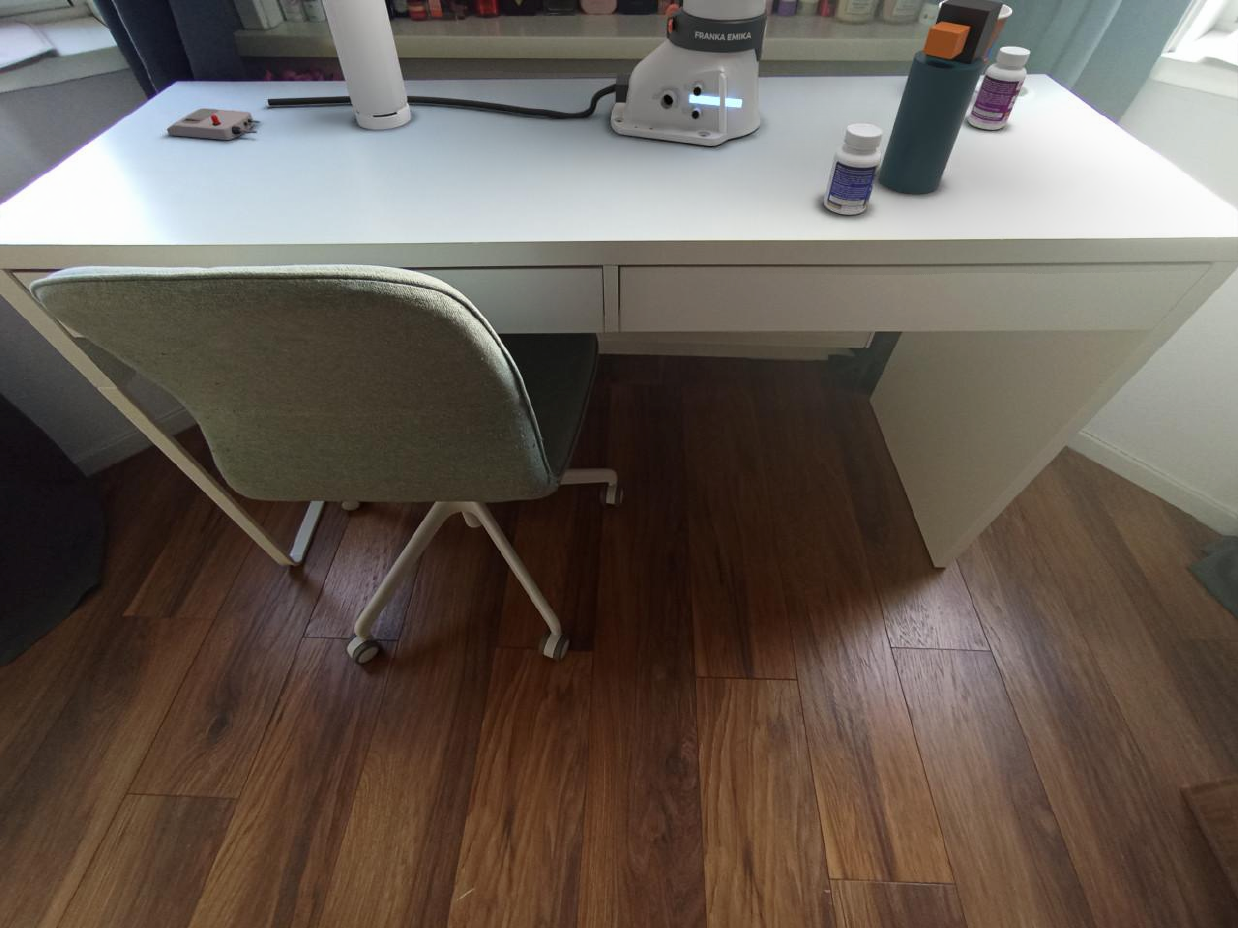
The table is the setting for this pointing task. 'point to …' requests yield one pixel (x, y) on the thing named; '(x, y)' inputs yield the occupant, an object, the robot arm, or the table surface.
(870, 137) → the pill bottle
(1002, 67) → the pill bottle
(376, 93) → the bottle
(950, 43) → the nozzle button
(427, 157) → the table surface
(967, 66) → the sports bottle
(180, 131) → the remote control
